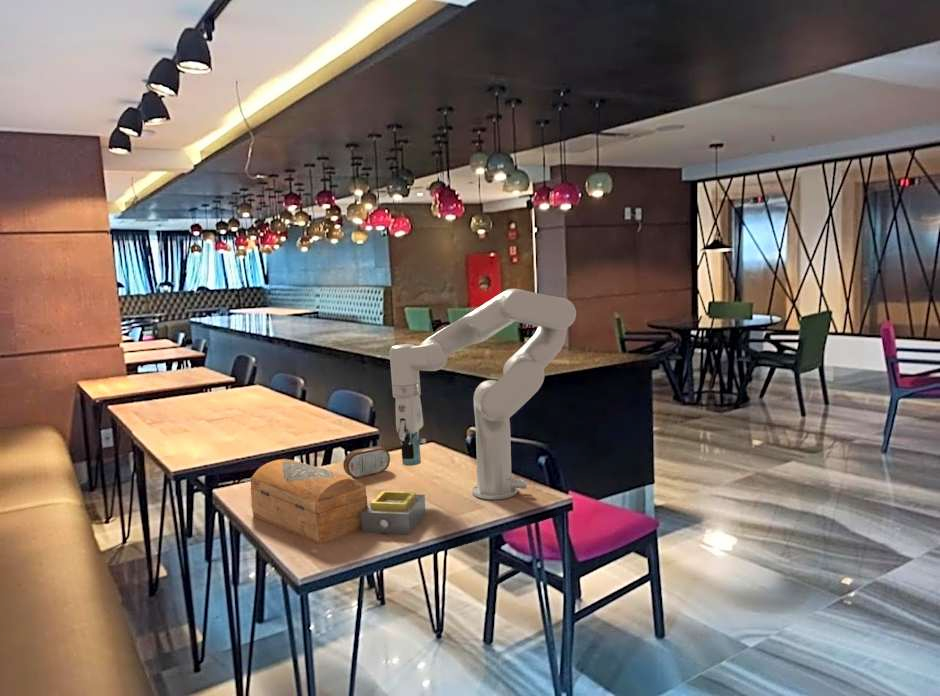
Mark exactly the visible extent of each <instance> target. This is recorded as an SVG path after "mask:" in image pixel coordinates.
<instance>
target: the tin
mask: <svg viewBox="0 0 940 696" xmlns="http://www.w3.org/2000/svg"><path fill="white" fill-rule="evenodd" d="M390 462H391V456H390V453H389V452H388V451H387V449H386V448H384V447H382V446H380V445H376V446H371V447H365V448H358V449H354V450H352V451H350V452H349V453H347V455H346V456H345V457H344V460H343V470H344V473H345V474H346V475H347V476H349V477H351V478H353V479H359V478H363V477H368V476H372V475H378V474H379V475H380V474H381V473H383V472H385V471H386V470H387V469H388V467H389V465H390Z"/></svg>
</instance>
